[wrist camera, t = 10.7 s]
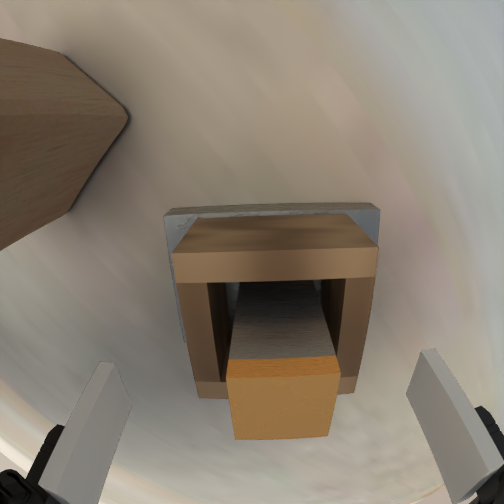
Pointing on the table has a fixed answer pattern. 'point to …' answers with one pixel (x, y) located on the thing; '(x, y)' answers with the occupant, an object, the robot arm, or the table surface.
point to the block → (47, 136)
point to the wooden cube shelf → (273, 269)
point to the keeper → (277, 334)
